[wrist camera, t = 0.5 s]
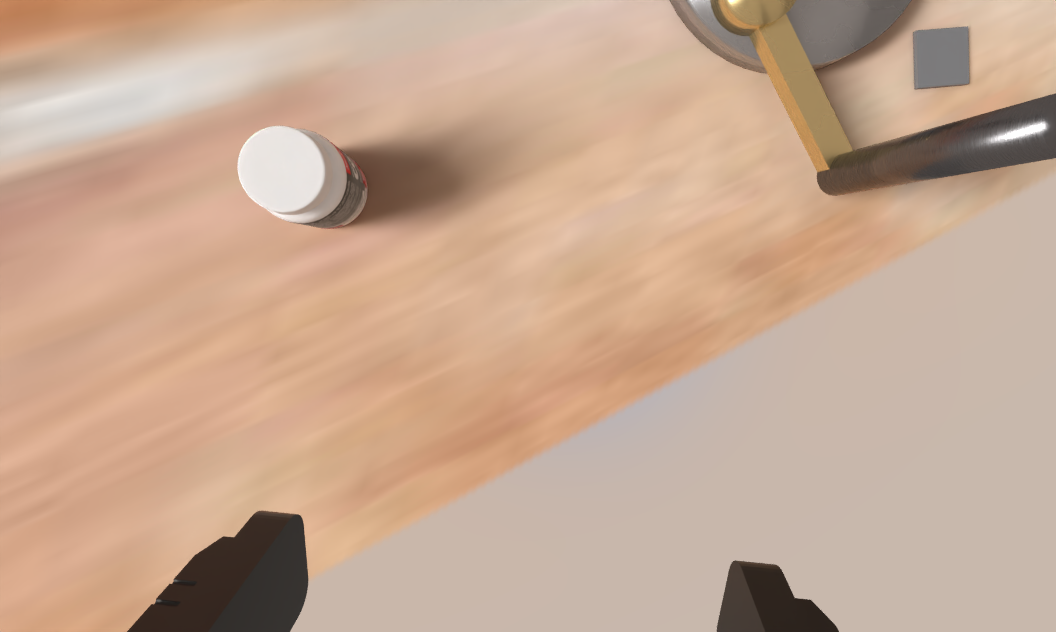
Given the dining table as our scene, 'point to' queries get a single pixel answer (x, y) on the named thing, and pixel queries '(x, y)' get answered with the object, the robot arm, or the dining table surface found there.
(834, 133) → the lever
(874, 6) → the tribrach plate
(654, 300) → the dining table surface
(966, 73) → the plate
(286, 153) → the pill bottle
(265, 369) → the dining table surface
